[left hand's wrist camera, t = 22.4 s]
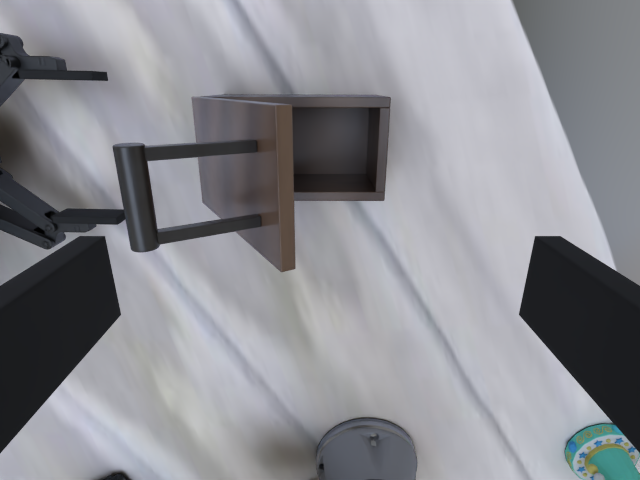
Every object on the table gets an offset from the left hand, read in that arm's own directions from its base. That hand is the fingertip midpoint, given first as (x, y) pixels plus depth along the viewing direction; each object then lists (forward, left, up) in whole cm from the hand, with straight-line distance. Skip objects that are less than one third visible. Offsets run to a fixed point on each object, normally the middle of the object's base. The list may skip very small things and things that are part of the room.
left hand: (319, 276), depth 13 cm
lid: (-5, +4, -18) cm, 19 cm away
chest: (-2, +1, -35) cm, 35 cm away
